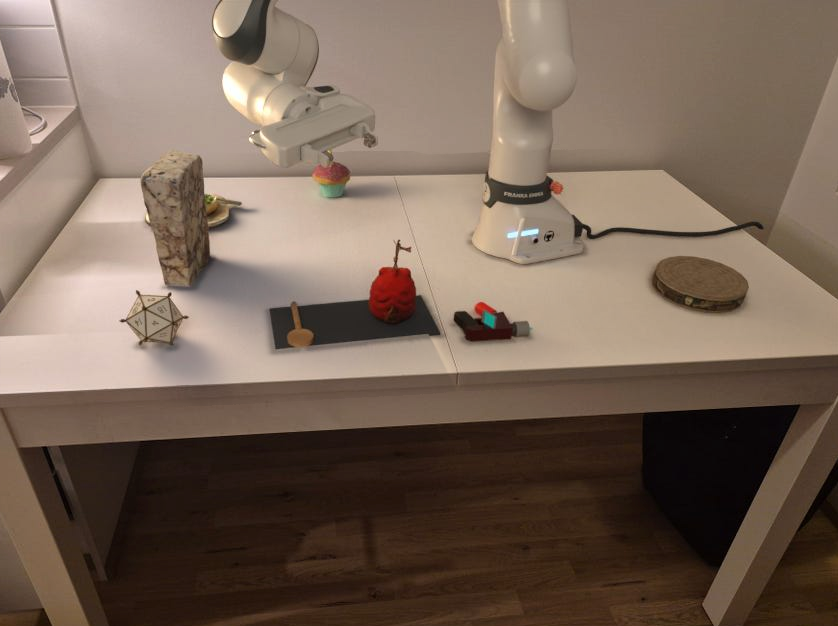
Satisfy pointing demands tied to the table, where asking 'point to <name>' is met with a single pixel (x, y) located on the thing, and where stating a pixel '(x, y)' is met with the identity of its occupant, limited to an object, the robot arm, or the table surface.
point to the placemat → (348, 323)
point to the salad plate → (214, 209)
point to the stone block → (178, 216)
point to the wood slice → (700, 284)
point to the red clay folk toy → (393, 292)
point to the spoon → (299, 331)
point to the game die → (154, 318)
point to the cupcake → (332, 179)
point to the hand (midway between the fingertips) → (352, 152)
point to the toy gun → (489, 325)
